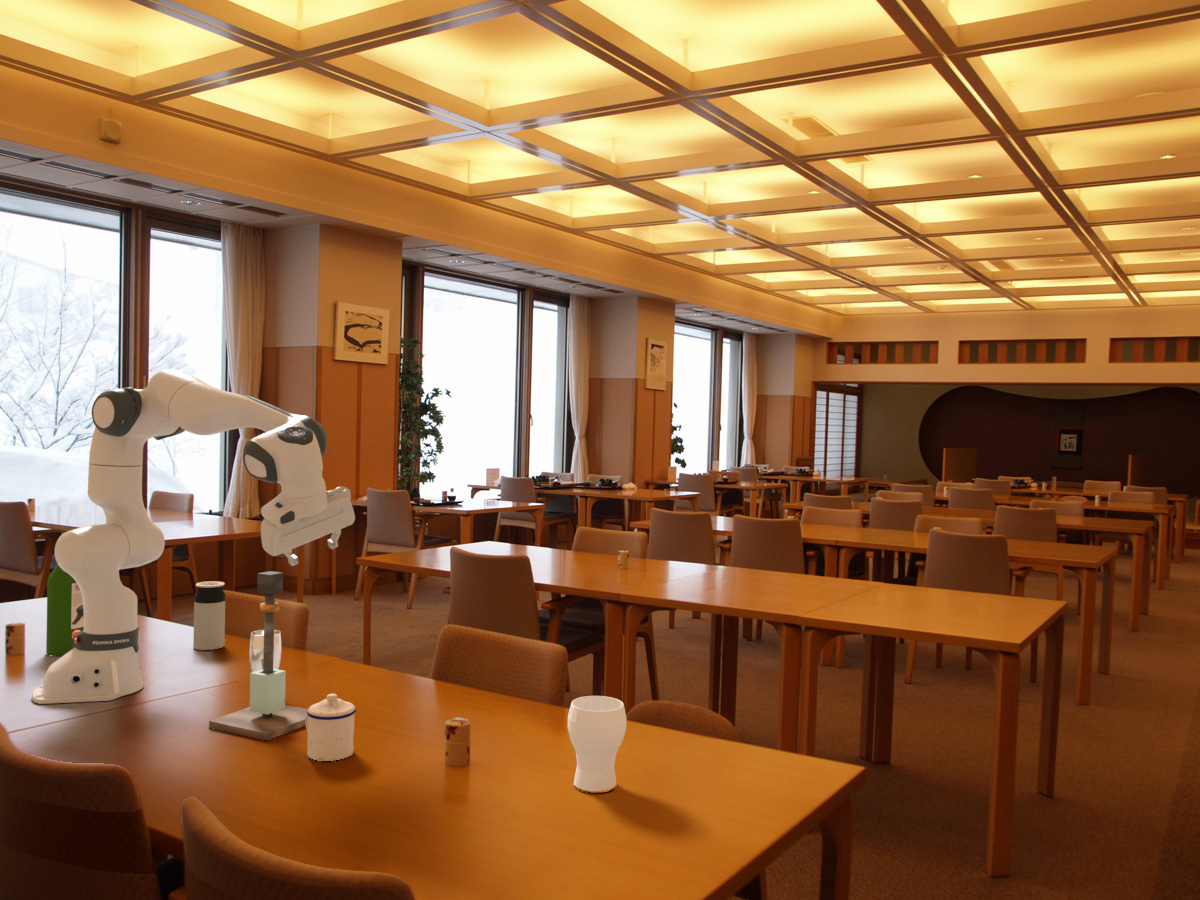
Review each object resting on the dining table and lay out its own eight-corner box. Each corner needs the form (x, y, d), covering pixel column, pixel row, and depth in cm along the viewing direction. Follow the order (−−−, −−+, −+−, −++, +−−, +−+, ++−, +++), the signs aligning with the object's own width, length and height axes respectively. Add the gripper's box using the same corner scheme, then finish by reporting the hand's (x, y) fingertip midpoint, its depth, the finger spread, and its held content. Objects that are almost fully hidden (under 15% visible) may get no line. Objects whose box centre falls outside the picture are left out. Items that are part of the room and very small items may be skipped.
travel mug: (207, 652, 251) (208, 587, 251) (186, 648, 255) (188, 584, 254) (230, 646, 259) (231, 582, 258) (210, 642, 262) (211, 580, 261)
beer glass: (285, 693, 216) (286, 629, 216) (272, 701, 209) (273, 636, 209) (257, 691, 217) (258, 628, 217) (242, 700, 210) (244, 634, 210)
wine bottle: (72, 657, 242) (74, 534, 241) (38, 656, 242) (40, 533, 242) (91, 649, 251) (93, 530, 250) (59, 647, 251) (61, 529, 251)
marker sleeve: (267, 714, 191) (268, 676, 191) (249, 710, 193) (250, 673, 193) (284, 708, 196) (285, 670, 195) (267, 704, 198) (268, 667, 198)
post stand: (267, 741, 184) (270, 582, 183) (209, 728, 191) (212, 574, 190) (322, 719, 198) (326, 571, 198) (266, 707, 205) (269, 564, 204)
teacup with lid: (364, 753, 179) (366, 694, 179) (326, 766, 171) (327, 704, 171) (325, 739, 186) (326, 682, 186) (286, 751, 178) (287, 692, 178)
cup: (604, 802, 159) (607, 716, 159) (554, 788, 165) (556, 704, 164) (635, 783, 168) (637, 701, 168) (586, 770, 174) (588, 691, 173)
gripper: (341, 478, 201) (348, 532, 208) (253, 511, 188) (263, 567, 195) (356, 488, 197) (363, 543, 204) (267, 523, 184) (277, 580, 191)
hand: (313, 555), depth 199 cm, fingers open, 8 cm apart
